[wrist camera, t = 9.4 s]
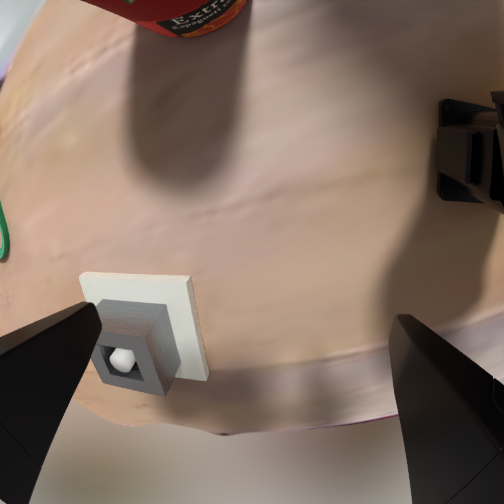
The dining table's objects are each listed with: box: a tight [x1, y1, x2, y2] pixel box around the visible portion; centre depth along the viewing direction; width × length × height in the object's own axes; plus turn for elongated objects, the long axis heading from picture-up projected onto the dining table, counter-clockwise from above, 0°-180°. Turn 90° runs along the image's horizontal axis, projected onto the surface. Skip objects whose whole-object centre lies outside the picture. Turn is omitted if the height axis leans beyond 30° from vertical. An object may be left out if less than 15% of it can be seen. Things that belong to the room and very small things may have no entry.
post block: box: [79, 272, 209, 381], centre depth 23 cm, size 10×10×5 cm
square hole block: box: [91, 299, 181, 396], centre depth 22 cm, size 6×6×4 cm
